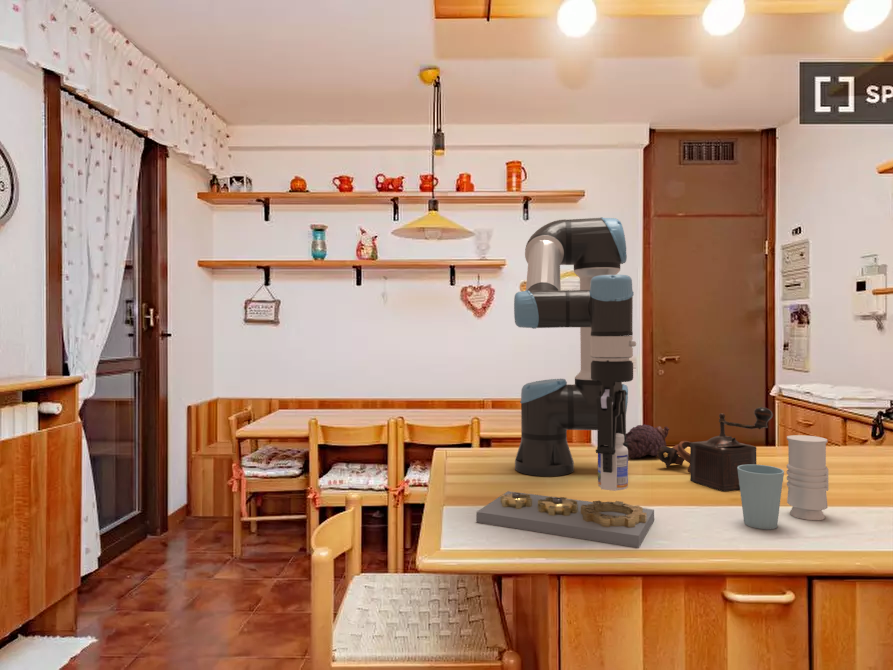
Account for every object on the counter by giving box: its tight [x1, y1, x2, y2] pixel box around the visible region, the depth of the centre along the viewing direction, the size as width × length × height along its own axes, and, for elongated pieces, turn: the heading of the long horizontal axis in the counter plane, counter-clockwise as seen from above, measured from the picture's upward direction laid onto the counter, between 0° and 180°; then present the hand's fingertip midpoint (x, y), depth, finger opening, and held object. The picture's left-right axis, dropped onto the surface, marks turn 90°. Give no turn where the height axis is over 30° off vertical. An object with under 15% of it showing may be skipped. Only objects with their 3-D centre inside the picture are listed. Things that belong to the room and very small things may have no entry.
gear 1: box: [538, 496, 578, 516], centre depth 116 cm, size 8×8×2 cm
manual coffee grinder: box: [689, 406, 774, 492], centre depth 141 cm, size 16×11×18 cm
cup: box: [737, 464, 785, 530], centre depth 112 cm, size 8×8×10 cm
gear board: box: [476, 490, 655, 549], centre depth 115 cm, size 30×16×2 cm, turn 62°
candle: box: [786, 434, 829, 521], centre depth 117 cm, size 7×7×15 cm
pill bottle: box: [597, 433, 629, 491], centre depth 110 cm, size 5×5×10 cm
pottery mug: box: [657, 440, 692, 473], centre depth 155 cm, size 12×9×8 cm
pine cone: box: [624, 424, 670, 460], centre depth 170 cm, size 18×10×10 cm
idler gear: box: [499, 491, 532, 509], centre depth 119 cm, size 6×6×2 cm
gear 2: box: [581, 500, 647, 528], centre depth 111 cm, size 12×12×1 cm
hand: (612, 485), depth 111 cm, fingers closed on pill bottle, 5 cm apart
